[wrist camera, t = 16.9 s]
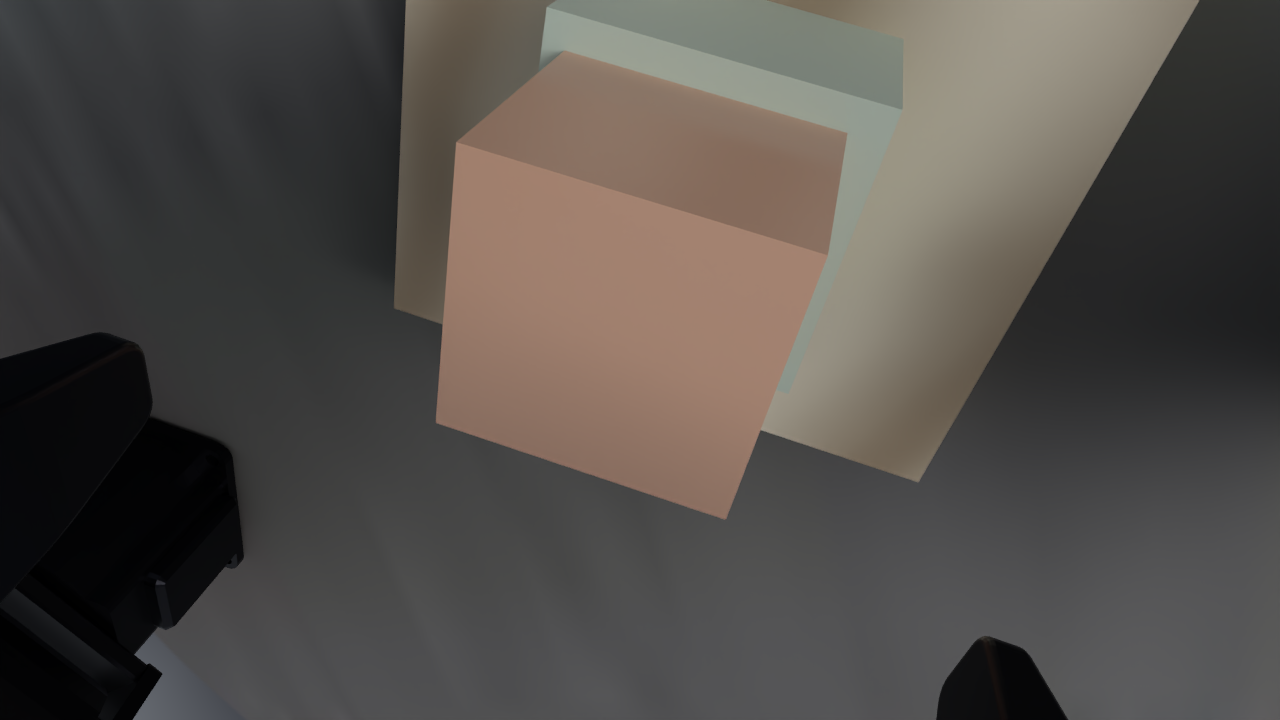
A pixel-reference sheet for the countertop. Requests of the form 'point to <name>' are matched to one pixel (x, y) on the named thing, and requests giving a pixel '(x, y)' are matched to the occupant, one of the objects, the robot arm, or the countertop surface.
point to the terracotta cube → (631, 275)
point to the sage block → (758, 82)
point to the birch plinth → (896, 205)
